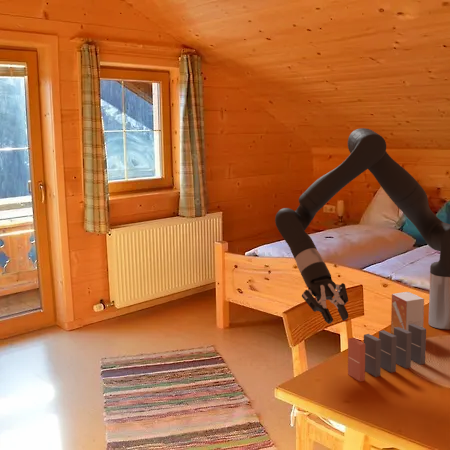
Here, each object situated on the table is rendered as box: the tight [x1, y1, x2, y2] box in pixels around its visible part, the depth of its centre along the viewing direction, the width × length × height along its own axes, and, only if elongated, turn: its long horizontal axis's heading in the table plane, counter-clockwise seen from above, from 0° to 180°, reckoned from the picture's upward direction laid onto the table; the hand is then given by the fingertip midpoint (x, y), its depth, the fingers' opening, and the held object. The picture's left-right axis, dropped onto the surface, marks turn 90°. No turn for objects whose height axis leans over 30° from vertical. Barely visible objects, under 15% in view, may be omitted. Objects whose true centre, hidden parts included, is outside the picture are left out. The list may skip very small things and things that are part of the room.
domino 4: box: [393, 327, 412, 370], centre depth 157 cm, size 2×5×10 cm, turn 25°
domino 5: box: [408, 324, 427, 365], centre depth 159 cm, size 2×5×10 cm, turn 25°
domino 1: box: [347, 337, 366, 382], centre depth 150 cm, size 2×5×10 cm, turn 25°
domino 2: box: [363, 333, 382, 378], centre depth 152 cm, size 2×5×10 cm, turn 25°
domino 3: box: [378, 330, 397, 373], centre depth 155 cm, size 2×5×10 cm, turn 25°
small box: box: [390, 291, 425, 335], centre depth 177 cm, size 8×6×13 cm
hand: (338, 320), depth 156 cm, fingers open, 4 cm apart
